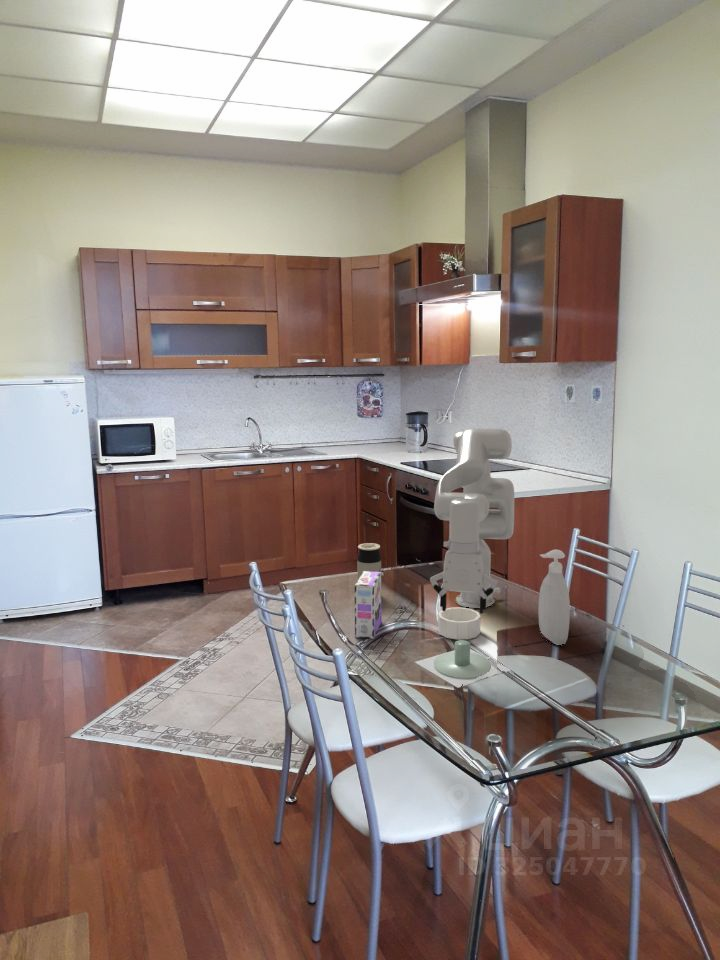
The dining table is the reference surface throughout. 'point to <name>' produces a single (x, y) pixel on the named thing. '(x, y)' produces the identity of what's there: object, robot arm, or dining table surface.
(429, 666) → the mat
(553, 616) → the soap bottle
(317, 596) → the dining table surface
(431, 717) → the dining table surface
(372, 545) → the travel mug
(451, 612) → the bowl
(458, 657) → the lid
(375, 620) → the candy box
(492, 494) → the robot arm
